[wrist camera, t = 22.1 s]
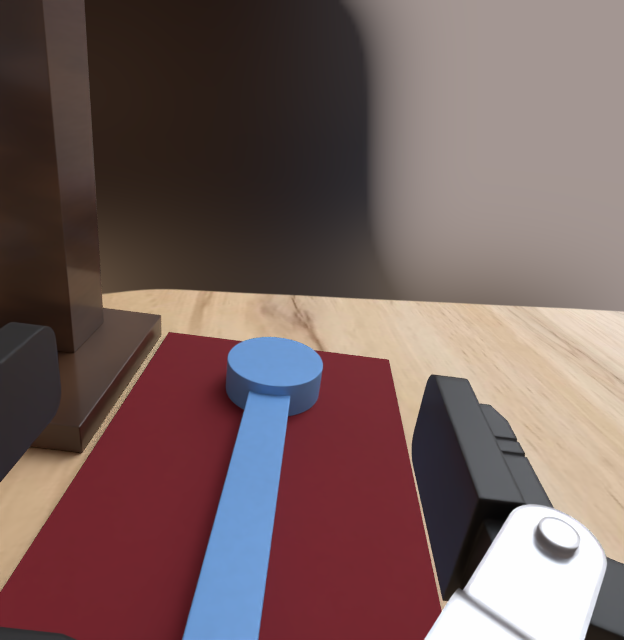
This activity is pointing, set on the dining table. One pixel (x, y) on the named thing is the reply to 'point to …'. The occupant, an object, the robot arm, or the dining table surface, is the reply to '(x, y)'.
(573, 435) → the dining table surface
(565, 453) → the dining table surface
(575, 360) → the dining table surface
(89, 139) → the stand
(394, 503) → the cloth
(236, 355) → the blue disc paddle
